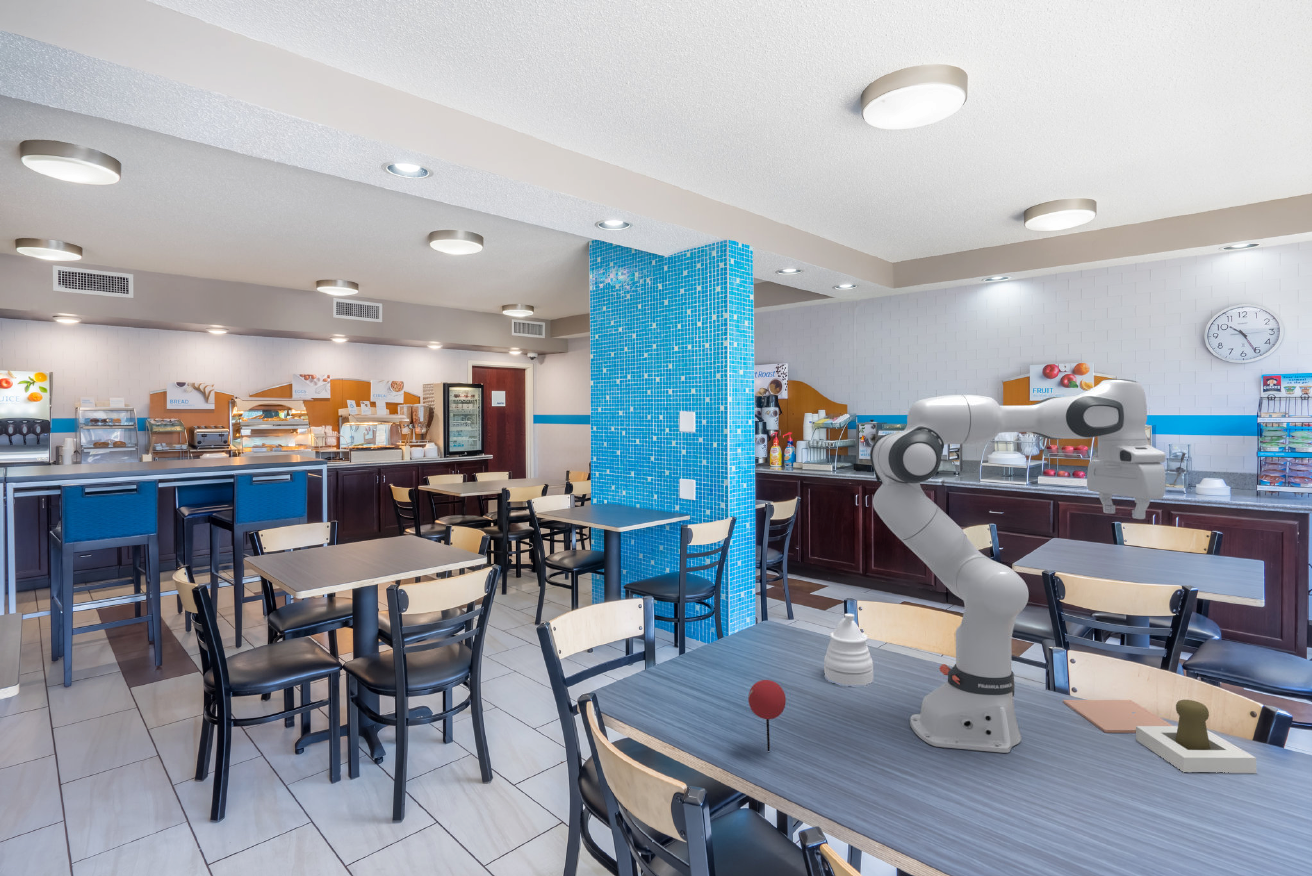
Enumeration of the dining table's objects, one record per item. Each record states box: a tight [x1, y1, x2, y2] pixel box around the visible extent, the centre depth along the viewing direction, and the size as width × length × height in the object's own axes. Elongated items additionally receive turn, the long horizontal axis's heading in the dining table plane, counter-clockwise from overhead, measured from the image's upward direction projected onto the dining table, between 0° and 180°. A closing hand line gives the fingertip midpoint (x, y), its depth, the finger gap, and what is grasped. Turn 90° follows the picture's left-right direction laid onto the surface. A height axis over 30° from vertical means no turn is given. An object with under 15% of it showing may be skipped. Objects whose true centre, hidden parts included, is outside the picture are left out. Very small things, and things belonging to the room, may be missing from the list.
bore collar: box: [1135, 725, 1257, 774], centre depth 130 cm, size 13×13×3 cm
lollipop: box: [747, 679, 787, 752], centre depth 136 cm, size 8×8×15 cm
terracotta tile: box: [1062, 699, 1174, 734], centre depth 148 cm, size 16×16×1 cm
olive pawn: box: [1175, 699, 1210, 750], centre depth 130 cm, size 6×6×11 cm
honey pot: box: [823, 613, 874, 685], centre depth 175 cm, size 13×13×18 cm
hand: (1123, 515), depth 140 cm, fingers open, 8 cm apart
